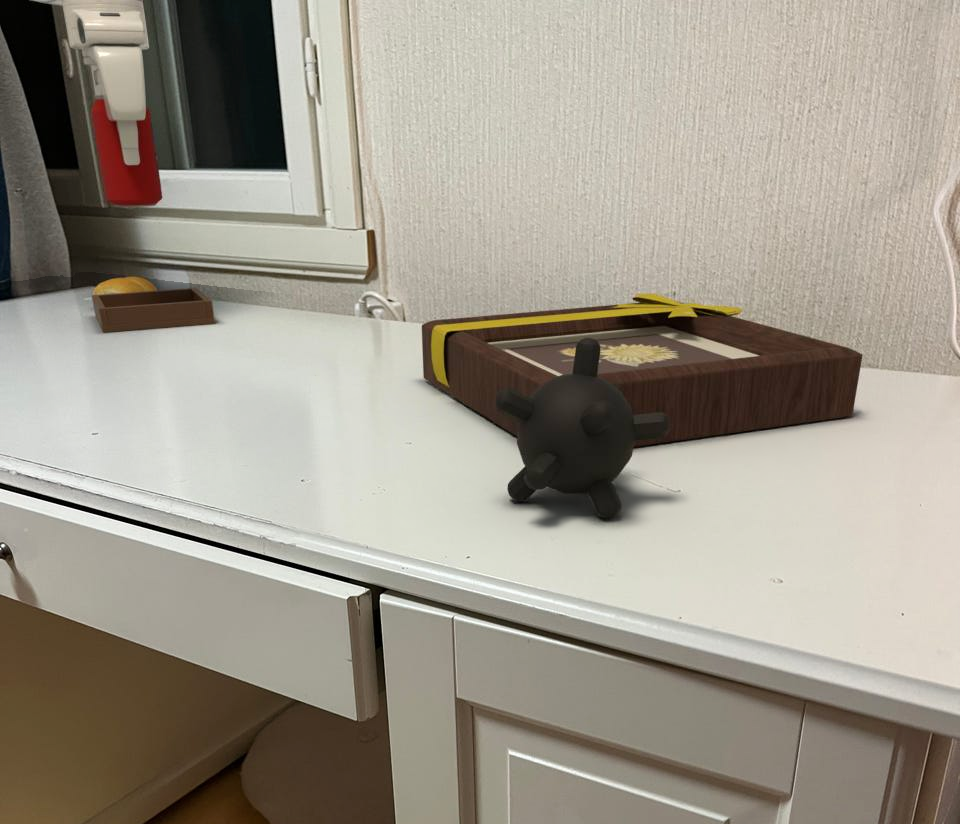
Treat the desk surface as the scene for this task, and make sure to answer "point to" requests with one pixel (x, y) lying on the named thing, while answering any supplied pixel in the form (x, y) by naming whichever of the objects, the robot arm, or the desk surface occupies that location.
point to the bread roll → (124, 286)
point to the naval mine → (576, 433)
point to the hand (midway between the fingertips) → (128, 164)
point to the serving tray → (152, 309)
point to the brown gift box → (650, 364)
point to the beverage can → (118, 178)
